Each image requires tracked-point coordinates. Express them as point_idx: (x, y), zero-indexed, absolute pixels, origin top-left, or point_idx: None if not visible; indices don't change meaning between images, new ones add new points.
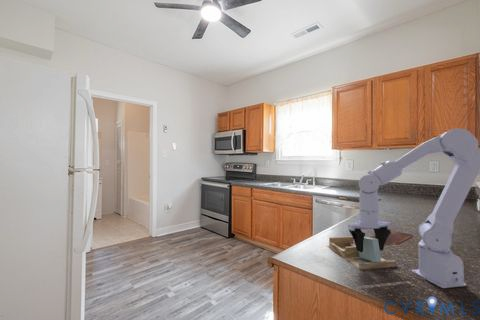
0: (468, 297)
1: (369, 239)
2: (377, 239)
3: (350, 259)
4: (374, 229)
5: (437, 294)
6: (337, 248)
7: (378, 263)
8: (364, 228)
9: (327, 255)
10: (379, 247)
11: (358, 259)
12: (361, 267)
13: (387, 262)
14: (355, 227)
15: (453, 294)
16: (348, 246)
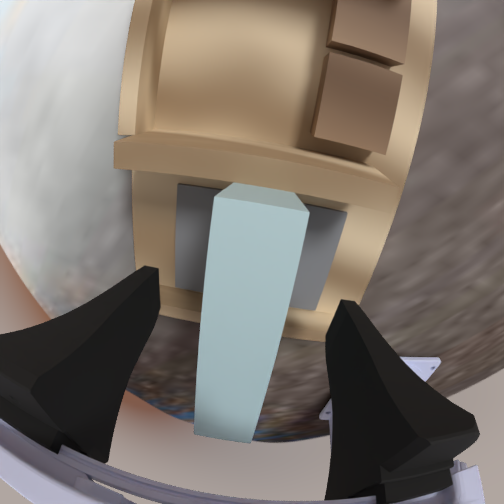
0: (328, 431)
1: (195, 407)
2: (244, 441)
3: (156, 181)
4: (397, 436)
5: (273, 418)
6: (130, 54)
7: None
8: (129, 486)
9: (82, 69)
10: (332, 336)
11: (202, 207)
12: None
13: (296, 336)
14: (20, 449)
15: (312, 424)
16: (151, 142)
